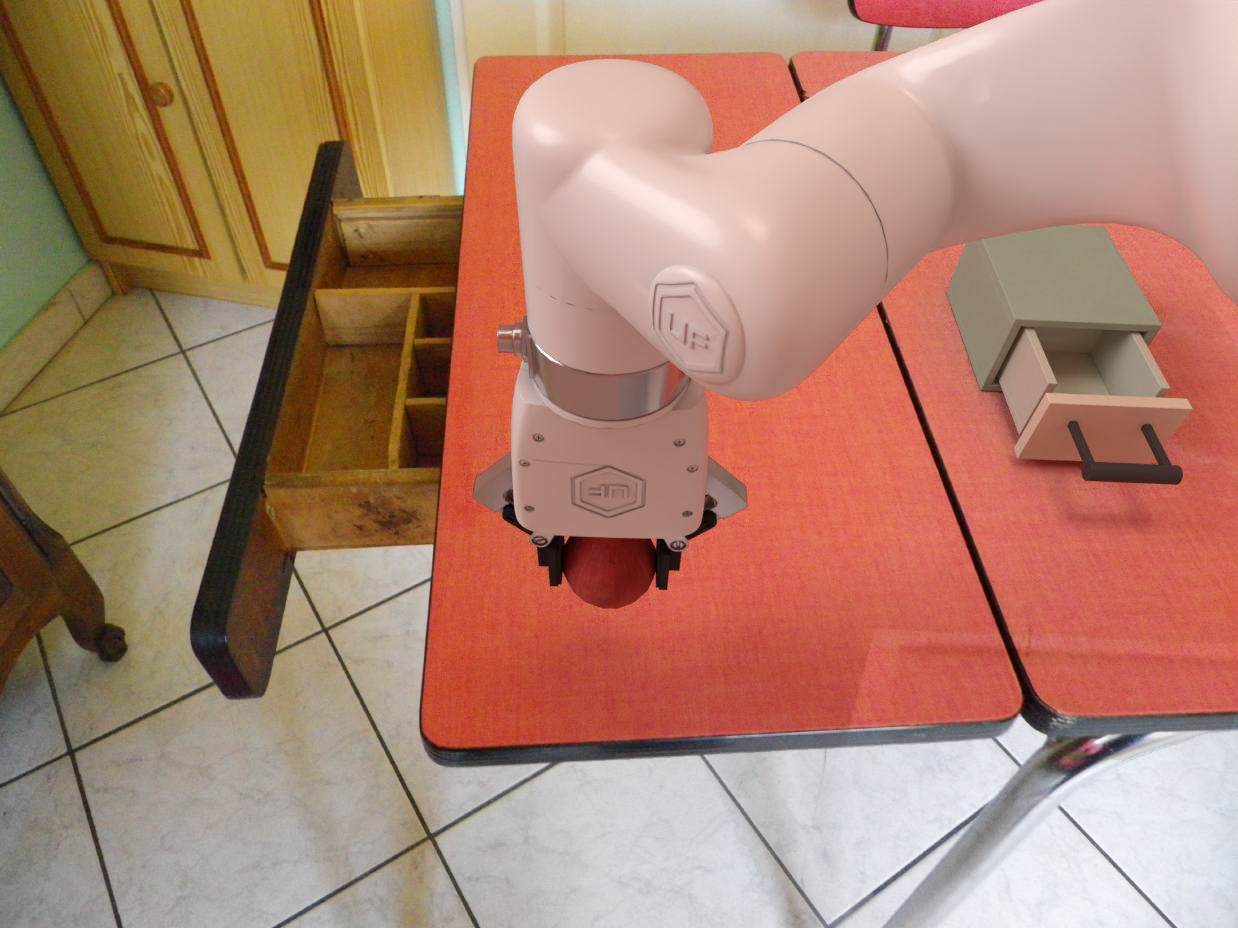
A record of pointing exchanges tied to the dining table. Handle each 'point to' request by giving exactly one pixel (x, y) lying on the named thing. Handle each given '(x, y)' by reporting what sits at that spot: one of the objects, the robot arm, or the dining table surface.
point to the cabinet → (1042, 291)
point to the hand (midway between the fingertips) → (609, 567)
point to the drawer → (1092, 403)
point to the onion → (609, 569)
